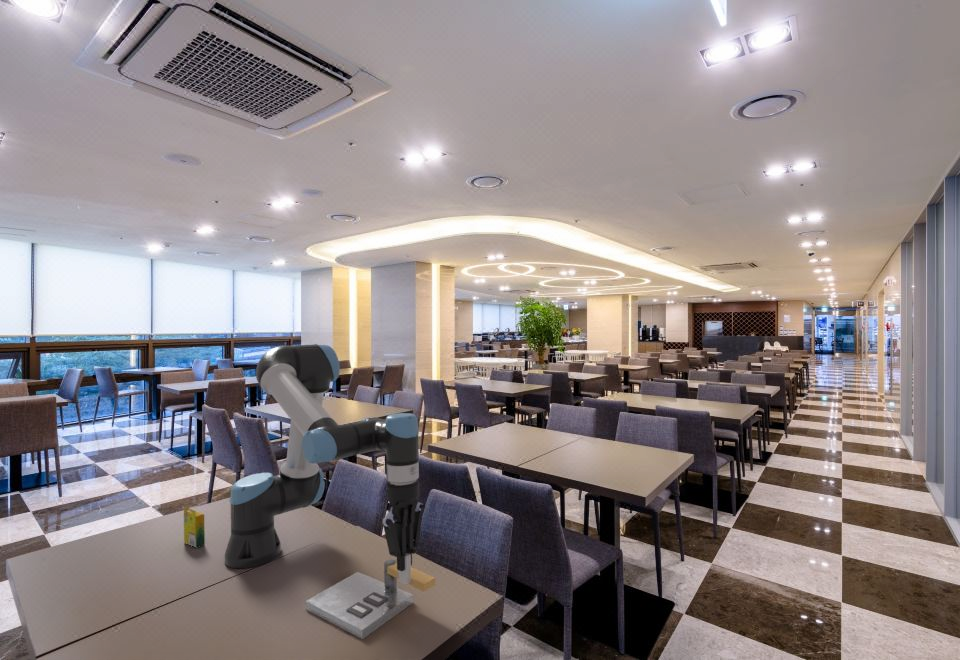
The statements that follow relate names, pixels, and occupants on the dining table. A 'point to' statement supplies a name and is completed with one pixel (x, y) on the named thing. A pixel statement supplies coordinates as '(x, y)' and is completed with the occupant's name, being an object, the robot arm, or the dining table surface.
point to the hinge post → (390, 583)
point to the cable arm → (417, 577)
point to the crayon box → (194, 528)
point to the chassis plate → (349, 593)
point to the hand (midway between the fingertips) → (404, 582)
